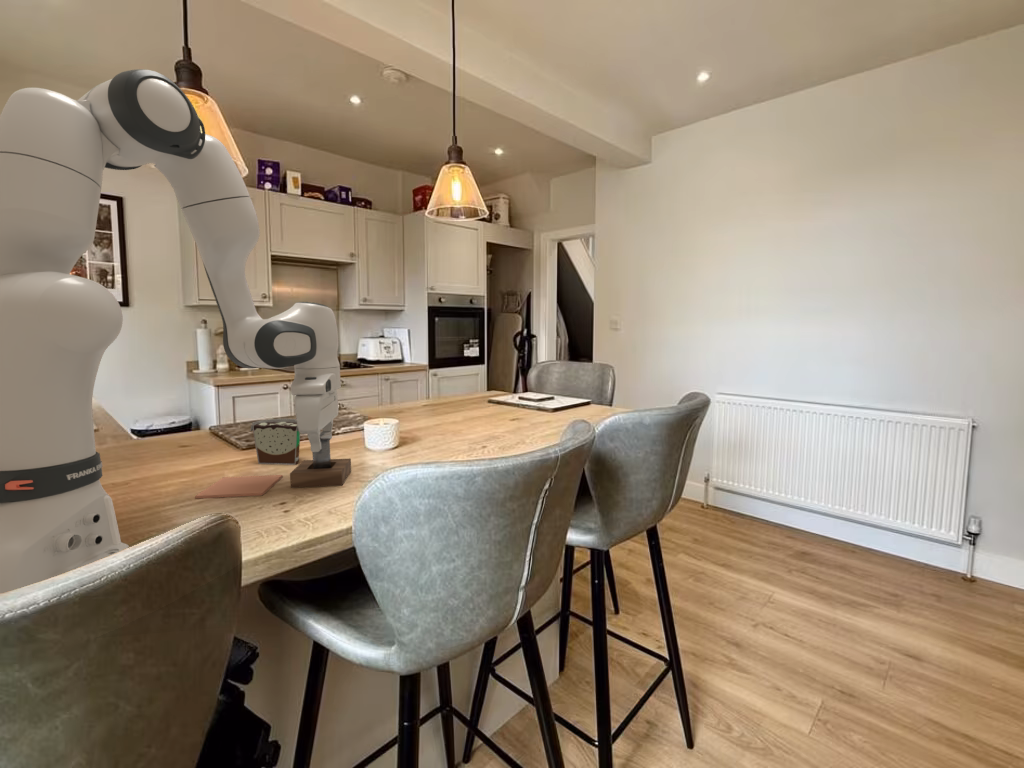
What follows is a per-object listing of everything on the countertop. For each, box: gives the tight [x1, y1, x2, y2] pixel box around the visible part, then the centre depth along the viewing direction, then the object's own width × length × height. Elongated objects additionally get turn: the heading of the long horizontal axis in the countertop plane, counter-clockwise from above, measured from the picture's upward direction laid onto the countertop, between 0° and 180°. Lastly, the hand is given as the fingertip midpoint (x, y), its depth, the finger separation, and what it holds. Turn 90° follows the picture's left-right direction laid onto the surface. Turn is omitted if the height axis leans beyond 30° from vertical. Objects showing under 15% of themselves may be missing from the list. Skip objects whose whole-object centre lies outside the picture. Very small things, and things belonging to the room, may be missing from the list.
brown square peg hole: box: [289, 458, 352, 489], centre depth 104 cm, size 10×10×3 cm
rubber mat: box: [194, 474, 284, 500], centre depth 99 cm, size 12×12×1 cm
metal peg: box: [311, 430, 333, 469], centre depth 103 cm, size 4×4×10 cm
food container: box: [250, 418, 301, 466], centre depth 118 cm, size 12×6×10 cm, turn 84°
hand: (322, 445), depth 103 cm, fingers open, 8 cm apart
